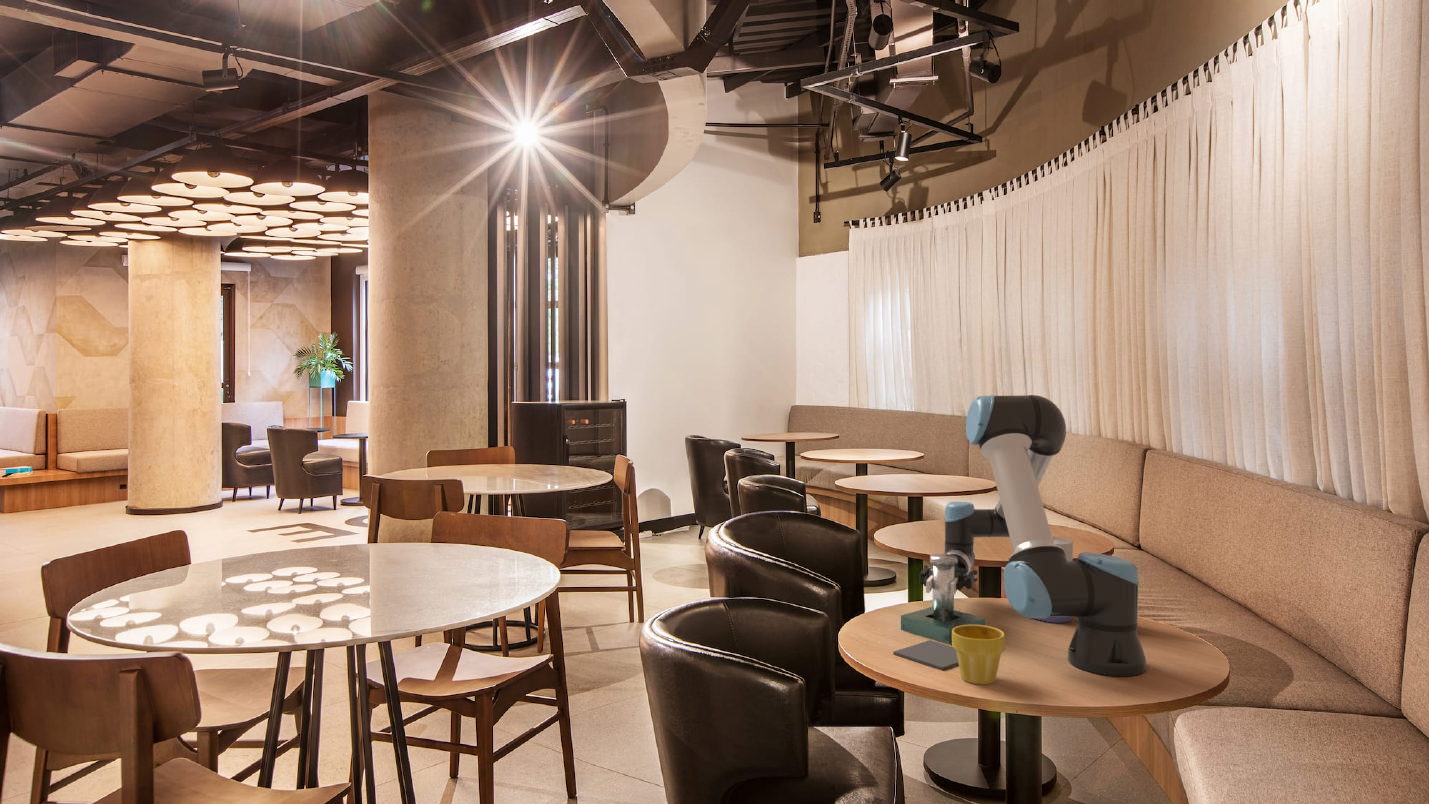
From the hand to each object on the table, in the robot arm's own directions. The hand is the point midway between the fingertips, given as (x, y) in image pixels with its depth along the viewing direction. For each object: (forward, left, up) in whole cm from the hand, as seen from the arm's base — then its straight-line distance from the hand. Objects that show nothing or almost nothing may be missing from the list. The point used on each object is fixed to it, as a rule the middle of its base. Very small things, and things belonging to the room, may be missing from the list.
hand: (940, 588), depth 200 cm
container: (-8, -35, -12) cm, 38 cm away
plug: (+2, -5, -9) cm, 10 cm away
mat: (-8, +12, -12) cm, 18 cm away
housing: (+2, -4, -12) cm, 12 cm away
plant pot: (-22, +17, -12) cm, 30 cm away
